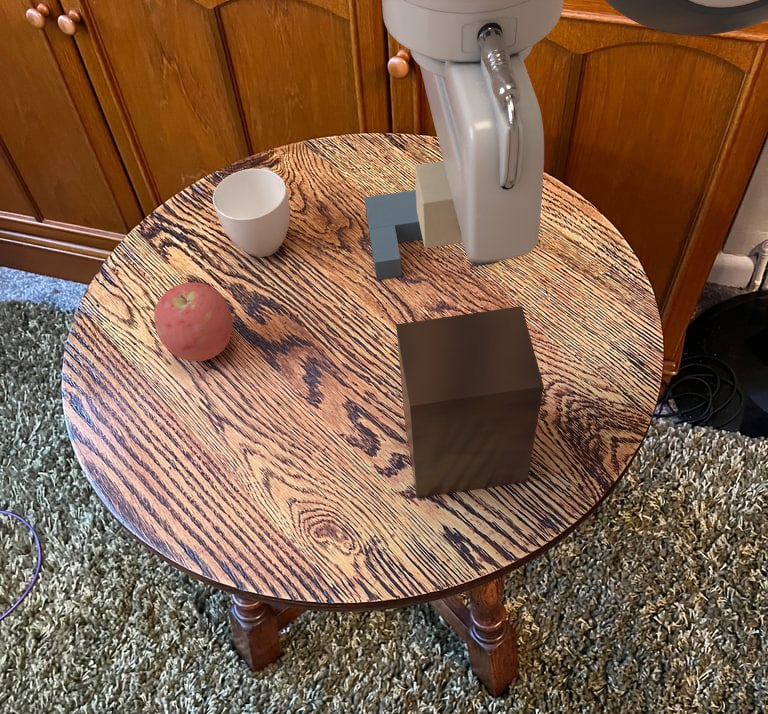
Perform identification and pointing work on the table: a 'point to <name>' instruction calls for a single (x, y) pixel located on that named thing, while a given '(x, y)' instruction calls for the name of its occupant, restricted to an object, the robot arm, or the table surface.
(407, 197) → the u-shaped bracket
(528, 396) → the block
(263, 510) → the table surface
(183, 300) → the apple
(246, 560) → the table surface
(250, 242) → the cup
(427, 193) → the beige block
